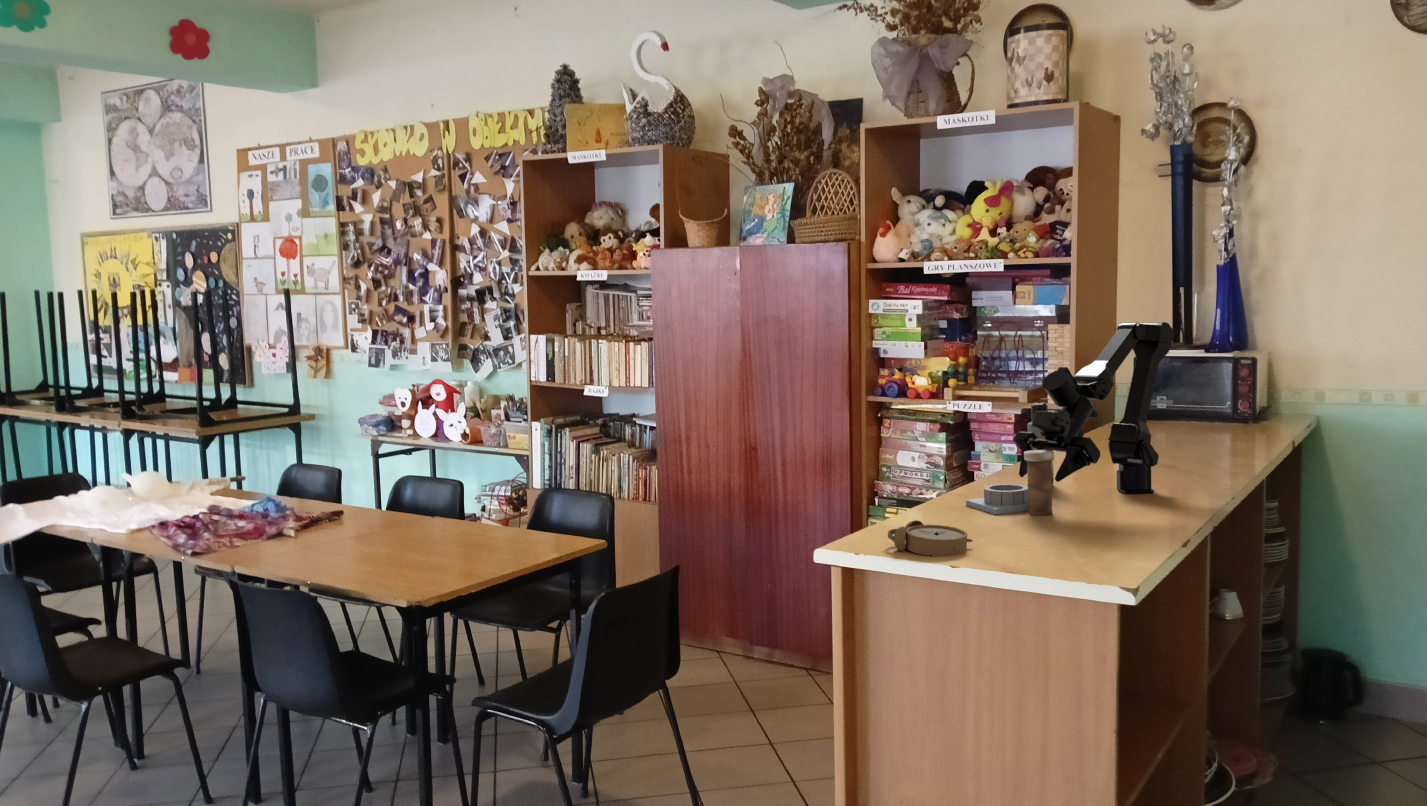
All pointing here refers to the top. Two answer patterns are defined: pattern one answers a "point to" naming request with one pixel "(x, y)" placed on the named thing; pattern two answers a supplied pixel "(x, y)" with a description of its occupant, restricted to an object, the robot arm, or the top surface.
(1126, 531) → the top surface
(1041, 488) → the walnut peg
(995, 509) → the collar socket
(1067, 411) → the robot arm
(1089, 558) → the top surface
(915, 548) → the alarm clock
